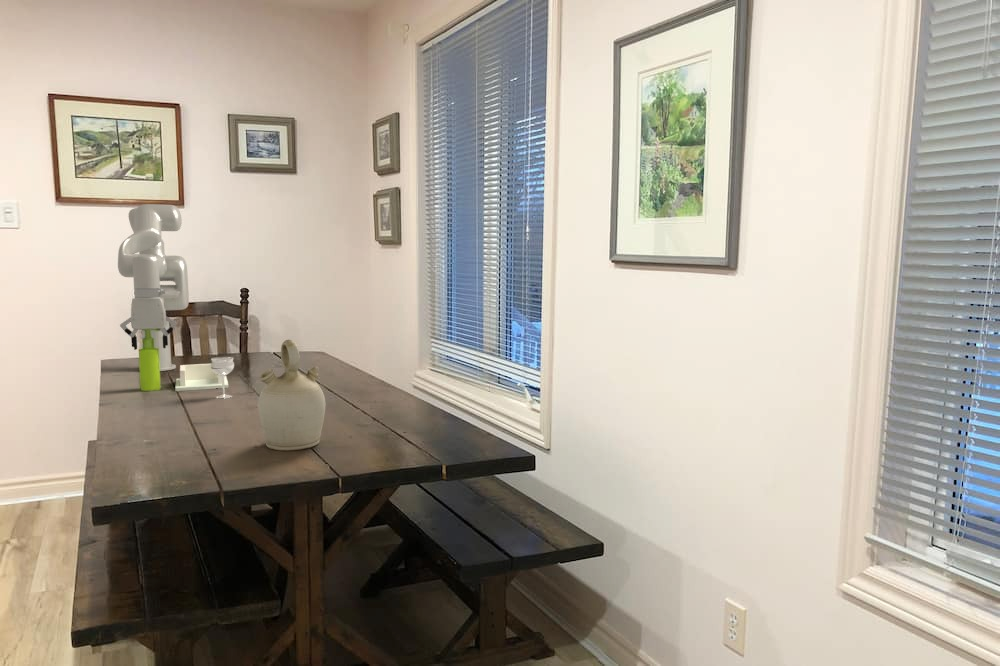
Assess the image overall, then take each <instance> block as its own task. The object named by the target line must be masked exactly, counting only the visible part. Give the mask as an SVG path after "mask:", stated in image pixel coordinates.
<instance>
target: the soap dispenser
mask: <svg viewBox="0 0 1000 666" xmlns="http://www.w3.org/2000/svg"><path fill="white" fill-rule="evenodd" d="M151 330H154V331H160V329H149V330H141V332H142V331H145V338H143V339H142V338H141V339H142V341H143V347H142V348H140V349H138V359H139V360H138V361H139V362H138V365H139V367H140V370H139V379H140V380H139V381H140V382H139V383H140V391H142V392H143V391H144V392H151V391H158V390H161V389H162V386H161V371H160V364H159V349H158V348H154V338H152V337H151ZM142 341H141V342H142Z"/></svg>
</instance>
